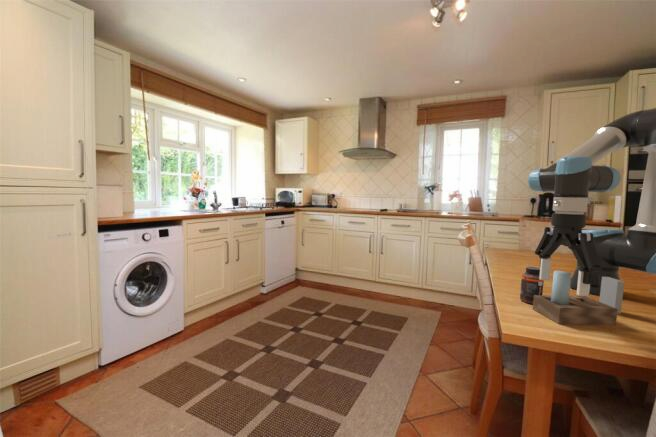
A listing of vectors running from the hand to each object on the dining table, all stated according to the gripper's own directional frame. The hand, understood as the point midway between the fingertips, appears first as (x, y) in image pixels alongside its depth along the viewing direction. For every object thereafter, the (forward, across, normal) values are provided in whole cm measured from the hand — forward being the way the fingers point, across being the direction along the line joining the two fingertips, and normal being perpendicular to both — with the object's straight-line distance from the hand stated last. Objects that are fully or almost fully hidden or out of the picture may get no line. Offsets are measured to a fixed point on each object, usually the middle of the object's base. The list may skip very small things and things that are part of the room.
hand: (562, 286), depth 86 cm
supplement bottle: (+9, -11, 0) cm, 15 cm away
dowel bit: (+9, 0, 0) cm, 9 cm away
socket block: (+9, 0, +4) cm, 10 cm away
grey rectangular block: (+9, -5, +20) cm, 22 cm away
